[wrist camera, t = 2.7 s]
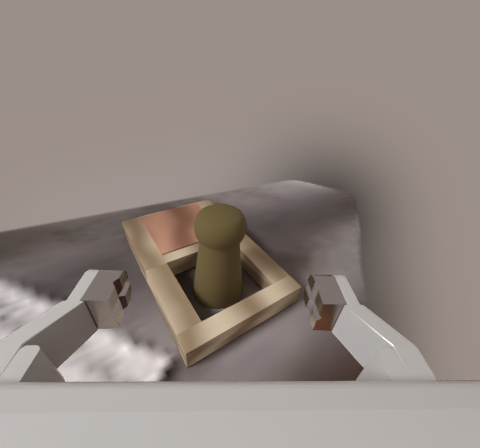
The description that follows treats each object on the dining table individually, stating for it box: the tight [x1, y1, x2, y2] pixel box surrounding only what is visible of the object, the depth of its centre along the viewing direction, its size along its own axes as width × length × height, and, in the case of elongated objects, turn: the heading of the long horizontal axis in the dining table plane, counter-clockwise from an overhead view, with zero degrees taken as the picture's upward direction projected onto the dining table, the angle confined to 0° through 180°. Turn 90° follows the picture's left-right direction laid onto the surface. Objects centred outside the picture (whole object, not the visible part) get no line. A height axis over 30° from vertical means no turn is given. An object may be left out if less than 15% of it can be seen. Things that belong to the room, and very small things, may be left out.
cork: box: [193, 204, 247, 309], centre depth 27 cm, size 6×6×11 cm
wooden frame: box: [121, 199, 302, 368], centre depth 32 cm, size 14×22×3 cm, turn 34°
